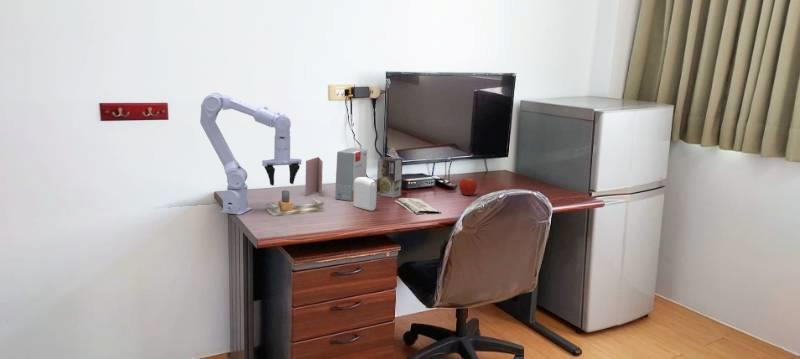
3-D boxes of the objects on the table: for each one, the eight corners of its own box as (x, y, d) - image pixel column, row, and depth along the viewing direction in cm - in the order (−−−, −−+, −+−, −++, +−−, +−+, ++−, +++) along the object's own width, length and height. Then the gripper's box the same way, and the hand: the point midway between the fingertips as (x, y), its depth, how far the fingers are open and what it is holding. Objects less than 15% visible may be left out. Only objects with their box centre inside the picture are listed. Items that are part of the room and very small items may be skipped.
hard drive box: (351, 201, 259) (353, 153, 255) (334, 199, 261) (335, 151, 257) (365, 194, 273) (367, 148, 269) (349, 192, 276) (351, 146, 272)
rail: (273, 216, 231) (273, 206, 230) (267, 211, 237) (267, 202, 236) (324, 211, 241) (324, 202, 241) (316, 207, 247) (316, 198, 247)
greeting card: (315, 190, 275) (316, 156, 272) (331, 192, 273) (332, 158, 270) (303, 196, 264) (304, 160, 261) (319, 198, 262) (320, 162, 259)
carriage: (282, 210, 234) (282, 192, 233) (278, 208, 238) (278, 190, 236) (292, 210, 236) (292, 192, 235) (288, 207, 240) (288, 189, 238)
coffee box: (401, 195, 274) (403, 158, 271) (393, 198, 269) (395, 160, 265) (383, 192, 278) (385, 156, 275) (375, 194, 273) (377, 157, 270)
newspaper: (393, 202, 263) (394, 197, 263) (420, 204, 267) (421, 199, 267) (412, 216, 242) (413, 210, 242) (441, 218, 246) (442, 212, 246)
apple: (472, 192, 286) (473, 176, 285) (479, 197, 279) (480, 179, 277) (456, 193, 284) (457, 176, 283) (462, 197, 277) (463, 179, 275)
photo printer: (351, 206, 251) (352, 175, 249) (359, 204, 254) (360, 174, 252) (369, 211, 244) (370, 180, 242) (377, 210, 248) (378, 179, 245)
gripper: (267, 150, 227) (266, 187, 229) (304, 149, 234) (304, 185, 237) (260, 147, 232) (260, 183, 235) (297, 146, 240) (297, 181, 243)
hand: (281, 184), depth 236 cm, fingers open, 7 cm apart
